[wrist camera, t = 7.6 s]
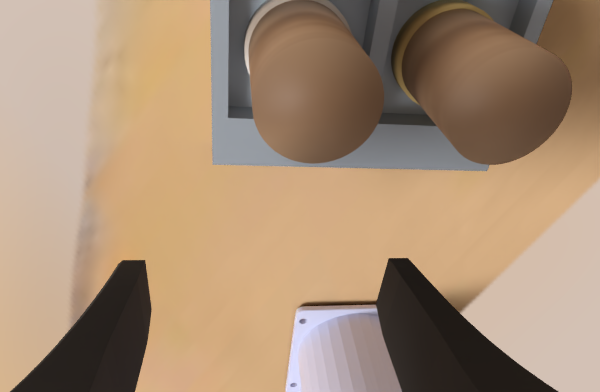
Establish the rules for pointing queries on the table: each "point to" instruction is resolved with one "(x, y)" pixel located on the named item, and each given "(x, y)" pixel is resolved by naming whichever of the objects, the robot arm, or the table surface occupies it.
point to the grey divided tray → (378, 46)
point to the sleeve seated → (310, 81)
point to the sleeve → (480, 81)
